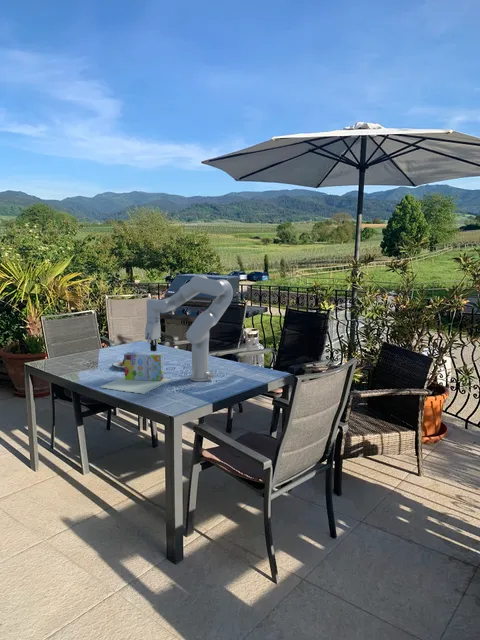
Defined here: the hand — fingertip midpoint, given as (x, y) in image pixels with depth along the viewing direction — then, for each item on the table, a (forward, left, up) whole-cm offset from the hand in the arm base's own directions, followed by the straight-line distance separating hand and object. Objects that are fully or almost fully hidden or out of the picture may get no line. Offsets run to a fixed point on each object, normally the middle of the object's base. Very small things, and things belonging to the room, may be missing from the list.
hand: (153, 350), depth 249 cm
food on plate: (+24, -12, -15) cm, 31 cm away
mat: (-1, +18, -15) cm, 24 cm away
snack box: (-1, +11, -14) cm, 18 cm away
